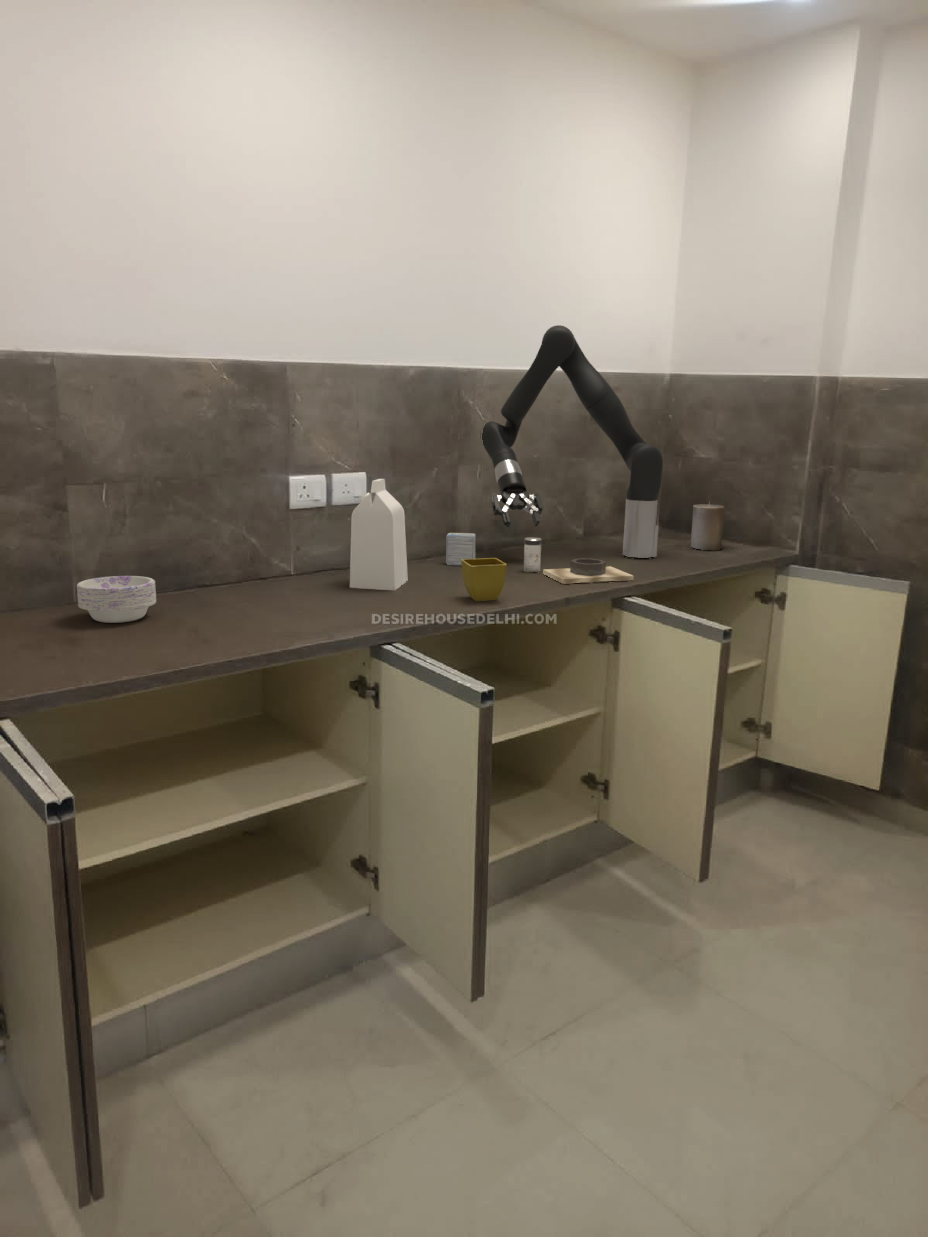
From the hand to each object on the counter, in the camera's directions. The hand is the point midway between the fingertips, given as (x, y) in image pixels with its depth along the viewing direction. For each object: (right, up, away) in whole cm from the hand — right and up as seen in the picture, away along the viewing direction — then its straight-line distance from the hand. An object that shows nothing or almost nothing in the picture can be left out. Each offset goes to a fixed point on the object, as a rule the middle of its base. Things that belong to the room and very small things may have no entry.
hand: (522, 524), depth 245 cm
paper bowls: (-89, -26, -61) cm, 111 cm away
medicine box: (-17, -11, +4) cm, 21 cm away
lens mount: (+16, -15, -12) cm, 25 cm away
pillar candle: (+61, -4, +38) cm, 72 cm away
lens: (+2, -13, -4) cm, 14 cm away
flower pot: (-12, -22, -38) cm, 45 cm away
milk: (-38, -18, -24) cm, 48 cm away
